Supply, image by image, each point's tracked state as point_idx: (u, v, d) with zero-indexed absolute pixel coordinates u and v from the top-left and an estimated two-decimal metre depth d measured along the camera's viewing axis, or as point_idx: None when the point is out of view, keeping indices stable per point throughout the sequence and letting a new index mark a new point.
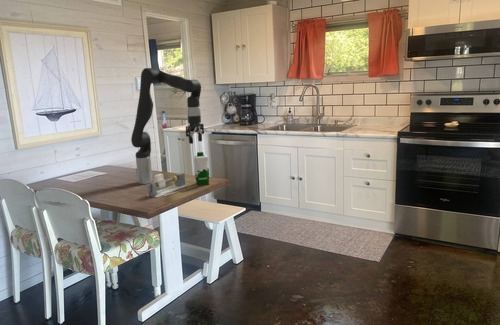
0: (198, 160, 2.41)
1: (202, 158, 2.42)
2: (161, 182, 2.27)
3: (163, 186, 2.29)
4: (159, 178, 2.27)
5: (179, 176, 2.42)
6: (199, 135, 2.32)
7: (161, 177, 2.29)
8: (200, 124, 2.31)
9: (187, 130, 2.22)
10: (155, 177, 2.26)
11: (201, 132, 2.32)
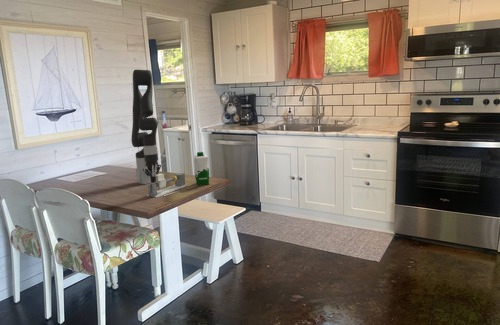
0: (198, 160, 2.41)
1: (202, 158, 2.42)
2: (162, 182, 2.28)
3: (164, 186, 2.29)
4: (160, 178, 2.28)
5: (179, 176, 2.42)
6: None
7: (162, 177, 2.29)
8: (158, 164, 2.27)
9: (146, 172, 2.20)
10: (156, 177, 2.27)
11: (155, 173, 2.25)
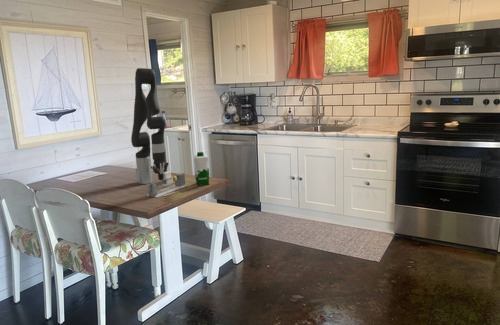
0: (198, 160, 2.41)
1: (202, 158, 2.42)
2: (169, 180, 2.33)
3: (171, 183, 2.35)
4: (167, 175, 2.33)
5: (179, 176, 2.42)
6: None
7: (169, 174, 2.35)
8: (165, 162, 2.32)
9: (154, 170, 2.25)
10: (163, 174, 2.32)
11: (163, 171, 2.30)
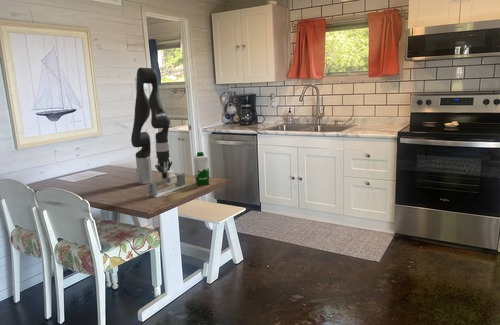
0: (198, 160, 2.41)
1: (202, 158, 2.42)
2: (173, 178, 2.36)
3: (174, 182, 2.37)
4: (171, 174, 2.36)
5: (179, 176, 2.42)
6: None
7: (173, 173, 2.37)
8: (169, 161, 2.35)
9: (158, 168, 2.28)
10: (167, 173, 2.35)
11: (167, 169, 2.33)
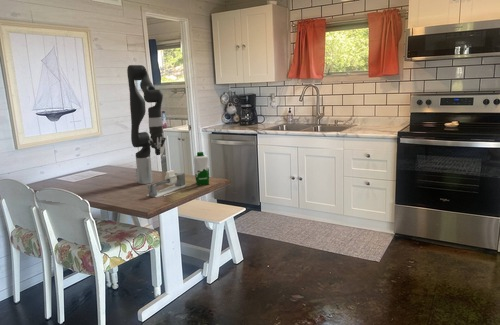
0: (198, 160, 2.41)
1: (202, 158, 2.42)
2: (173, 178, 2.36)
3: (174, 182, 2.37)
4: (171, 174, 2.36)
5: (179, 176, 2.42)
6: None
7: (173, 173, 2.37)
8: (163, 137, 2.29)
9: (151, 144, 2.21)
10: (167, 173, 2.35)
11: (160, 145, 2.26)
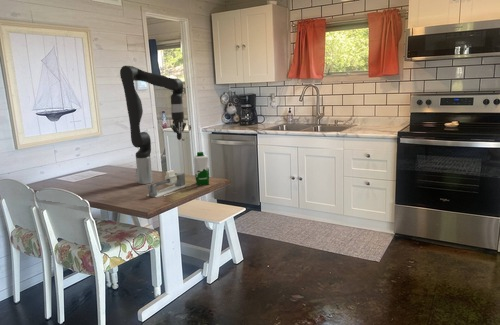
0: (198, 160, 2.41)
1: (202, 158, 2.42)
2: (173, 178, 2.36)
3: (174, 182, 2.37)
4: (171, 174, 2.36)
5: (179, 176, 2.42)
6: None
7: (173, 173, 2.37)
8: (183, 122, 2.48)
9: (173, 128, 2.41)
10: (167, 173, 2.35)
11: (181, 130, 2.46)
